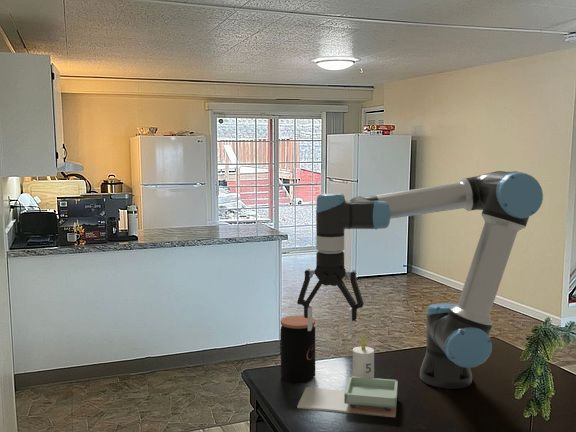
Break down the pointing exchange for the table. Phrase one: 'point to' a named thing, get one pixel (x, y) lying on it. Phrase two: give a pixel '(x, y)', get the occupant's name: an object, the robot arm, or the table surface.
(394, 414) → the board
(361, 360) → the candle
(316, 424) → the table surface
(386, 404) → the mint green tray
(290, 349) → the coffee jar
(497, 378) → the table surface
